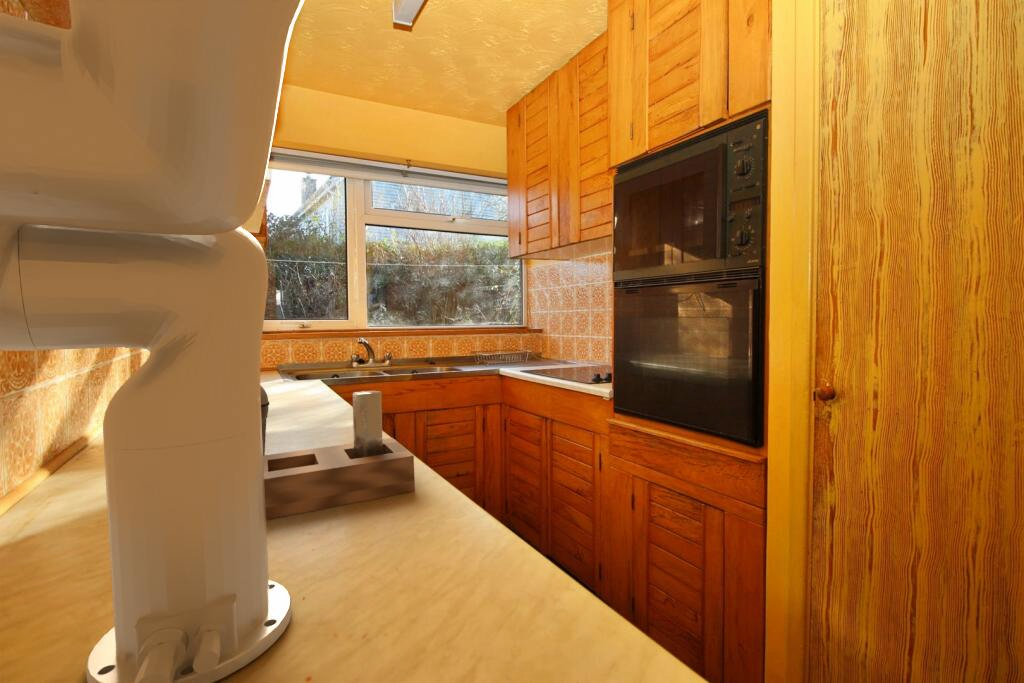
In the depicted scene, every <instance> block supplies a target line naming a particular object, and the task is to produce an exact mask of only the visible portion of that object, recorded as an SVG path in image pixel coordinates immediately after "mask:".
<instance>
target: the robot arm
mask: <svg viewBox="0 0 1024 683" xmlns="http://www.w3.org/2000/svg"><path fill="white" fill-rule="evenodd" d="M304 2H305V0H68V5H69V10H70V18H71V19H70V24H71V28H68V29H67V28H63V27H62V28H61V27H57V26H54V25H50V24H46V23H44V22H43V23H42V22H38V21H34V20H31V19H30V20H29V19H27V18H23V17H18V16H15V15H11V14H7V13H4V12H0V351H3V352H5V351H6V352H7V351H8V352H9V351H10V352H16V351H17V352H19V351H20V352H25V351H26V352H27V351H28V352H30V351H31V352H32V351H33V352H34V351H55V350H60V351H61V350H81V349H83V350H85V349H102V348H103V349H105V348H108V349H110V348H125V349H142V350H147V351H148V352H149V353H150V354H149V356H148V357H147V359H146V361H145V362H144V363H143V364H142V365H141V366H140V367H138V369H137V370H135V372H134V373H133V374H132V375H131V376H129V377H128V378H127V380H125V381H124V382H123V383H122V385H120V387H119V388H118V389H117V390H116V391H115V393H114V394H113V396H112V397H111V399H110V401H109V403H108V405H107V407H106V410H105V411H104V412H105V413H104V418H103V421H102V422H103V423H102V436H103V453H104V454H103V455H104V471H105V486H106V501H107V502H106V507H107V520H108V522H107V523H108V536H109V537H108V540H109V556H110V558H109V559H110V572H111V587H112V588H111V589H112V605H113V607H112V608H113V620H114V621H113V622H114V627H112V628H111V629H110V630H109V631H107V632H106V633H105V634H104V635H103V636H102V637H101V638H100V639H99V641H97V643H95V645H94V646H93V647H92V650H91V651H90V653H89V655H88V656H87V658H86V664H85V675H86V682H87V683H216V682H218V681H219V680H222V679H224V678H227V677H228V676H230V675H231V674H233V673H235V672H237V671H239V670H240V669H242V668H243V667H245V666H247V665H248V664H250V663H251V662H253V661H254V660H256V659H257V658H259V657H260V656H262V654H263V653H265V651H267V650H268V649H270V648H271V646H273V645H274V644H275V642H277V640H278V639H279V638H280V637H281V635H283V633H284V632H285V630H286V628H287V627H288V625H289V623H290V621H291V616H292V614H293V613H292V598H291V594H290V592H289V591H288V589H287V588H286V587H285V586H283V585H281V584H280V583H278V582H276V581H274V580H273V581H272V580H270V579H269V575H270V574H269V558H268V537H267V536H268V534H267V520H266V509H265V487H264V465H263V443H262V419H261V393H260V385H261V357H262V356H261V354H262V353H261V352H262V339H263V331H264V330H263V329H264V322H265V321H264V320H265V312H266V305H267V298H268V290H269V270H268V269H269V266H268V259H267V257H266V253H265V251H264V249H263V247H262V245H261V244H260V242H259V241H258V240H257V239H256V237H254V235H252V234H251V233H250V232H248V231H247V230H245V229H243V228H242V226H244V225H245V224H246V223H247V222H248V221H249V219H251V218H252V217H253V214H254V213H255V211H256V209H257V207H258V206H259V203H260V199H261V196H262V192H263V189H264V186H265V182H266V181H265V180H266V177H267V176H266V175H267V172H268V167H269V163H270V162H269V160H270V154H271V148H272V145H273V138H274V133H275V128H276V122H277V114H278V110H279V109H278V108H279V105H280V104H279V103H280V99H281V92H282V86H283V80H284V73H285V69H286V61H287V55H288V48H289V45H290V40H291V36H292V34H293V30H294V25H295V22H296V20H297V18H298V16H299V13H300V11H301V9H302V8H303V7H302V6H303V5H304Z"/></svg>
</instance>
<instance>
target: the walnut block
mask: <svg viewBox="0 0 1024 683" xmlns="http://www.w3.org/2000/svg"><path fill="white" fill-rule="evenodd" d="M382 443H383V455H376V456H370V457H363V458H356V459H354V442H353V443H346V444H345V443H344V444H338V445H330V446H323V447H316V448H309V449H308V448H307V449H301V450H295V451H286V452H281V453H279V452H278V453H272V454H267V455H266V454H265V455H264V456H263V465H264V487H265V509H266V521H268V520H272V519H278V518H283V517H287V516H293V515H298V514H304V513H309V512H314V511H318V510H325V509H329V508H334V507H339V506H344V505H351V504H354V503H362V502H364V501H370V500H375V499H376V500H377V499H381V498H386V497H391V496H396V495H402V494H406V493H412V492H415V491H416V485H415V482H416V481H415V458H414V455H413V453H411V452H410V451H409V450H407V449H406V447H404V446H403V445H402V444H401V443H399V441H397V440H396V439H394V438H393V437H389V438H382Z"/></svg>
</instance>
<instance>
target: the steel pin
mask: <svg viewBox="0 0 1024 683" xmlns="http://www.w3.org/2000/svg"><path fill="white" fill-rule="evenodd" d="M382 399H383V398H382V391H380V390H378V391H377V390H363V391H362V390H361V391H355V392H353V393H352V421H353V422H352V423H353V424H352V425H353V426H352V428H353V443H354V459H356V458H363V457H370V456H376V455H383V443H382V439H383V410H382V408H383V407H382Z"/></svg>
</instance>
